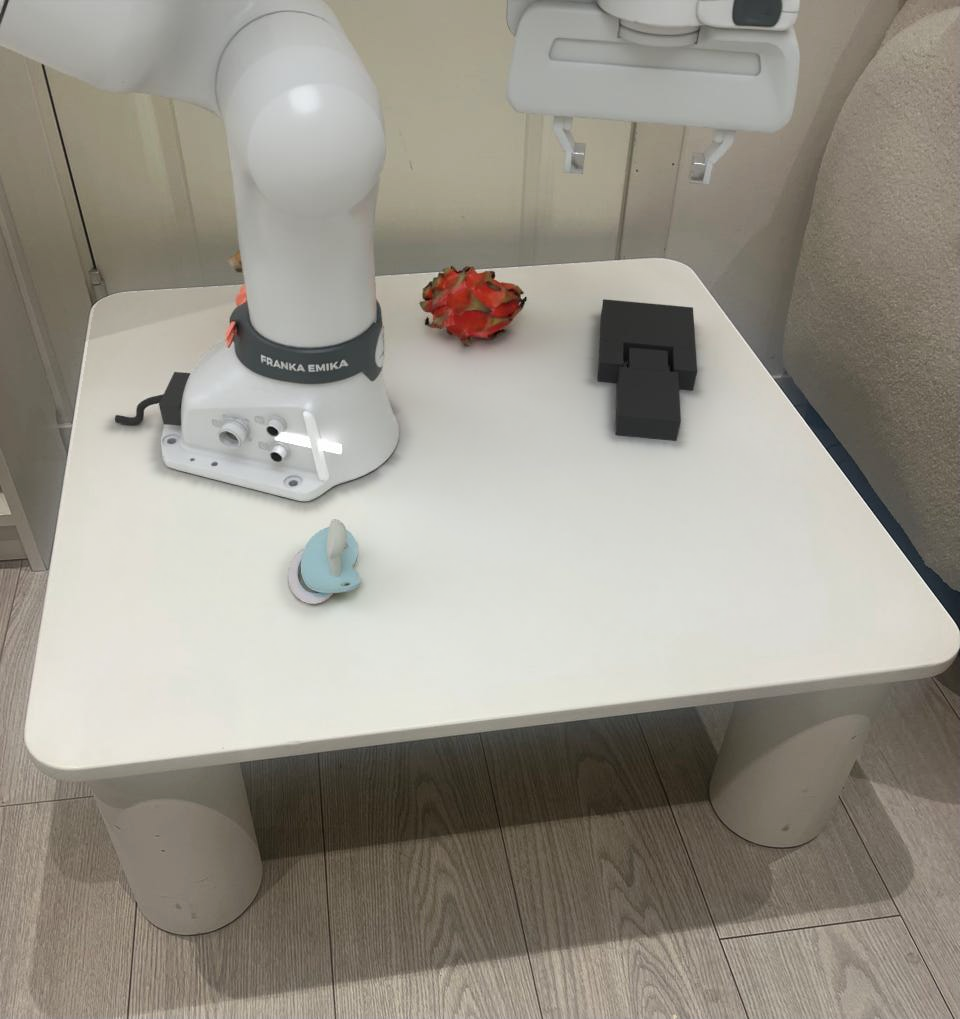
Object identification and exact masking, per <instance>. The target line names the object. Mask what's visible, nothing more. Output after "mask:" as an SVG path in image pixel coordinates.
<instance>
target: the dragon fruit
mask: <svg viewBox="0 0 960 1019" xmlns="http://www.w3.org/2000/svg"><path fill="white" fill-rule="evenodd" d="M441 271H442V272H438V274H437V276H435V277H433V278H432V280H430V281H429V282H428V283H427V285H426V286H425V287H423V288H422V293H421V294H422V295H421V298H422V299H423V300H422V301H420V300H419V302H418V304H419V307H420V308H421V310H422V311H423V312H424V313H427V314H428V313H430V314H431V315H432V321H431V322H430V317H429V316H428V315H427V316H426V317H425V319H424V325H425V326H426V327H428V328H430V329H436V330H440V331H441V330H443V329H445V330H446V332H447V334H448V335H449V336H453V335H454V336H456V337H458V338H459V340H460V341H461V342H462V343H463V342H464V343H465V344H464V346H470V345H472V342H473V341H474V339H473V338H483V339H487V340H489V339H490V340H494V339H496V338H498V337H500V336H501V335H503V334H505V333H506V331H507V329H506V328H505V327H508V325H509V324H511V322H513V321H514V319H515V317H516V316H517V315H518V314H519V313H520V312H522V310H523V308H524V307H525V304H526V302H527V300H528V298H527V296H524V298H521V297H522V295H524V294H525V292H524V291H523V290H522V288H521V287H520V286H519V285H518V284H514V283H512V282H503V281H502V282H500V281H498V280H496V279H495V278H496V272H495V271H494V270H485V271H483V272H477V271H476V269H475V267H474V266H469V265H466V266H465V267H463V268H462V269H460V270H458V269H456V267H455V266H454V265H451V266H450V267H444V268H443V269H442V270H441ZM471 337H472V338H471Z"/></svg>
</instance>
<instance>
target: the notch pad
mask: <svg viewBox="0 0 960 1019" xmlns="http://www.w3.org/2000/svg"><path fill="white" fill-rule="evenodd" d="M600 311H601V313H600V319H599V320H600V323H599V339H598V360H597V379H596V380H597V382H600V383H601V382H602V383H612V384H617V380H618V374H619V368H620V367H624V362H627V359H628V353H629V348H640V349H651V350H662V351H667V352H668V371H670V372H678V380H679V390H685V391H694V388H695V383H696V379H697V374H698V361H697V360H698V359H697V347H696V346H697V345H696V331H695V317H694V307H692V306H683V305H671V304H660V303H649V302H638V301H627V300H616V299H615V300H614V299H605V298H603V299H602V304H601V310H600Z"/></svg>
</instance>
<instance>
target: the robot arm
mask: <svg viewBox="0 0 960 1019" xmlns="http://www.w3.org/2000/svg"><path fill="white" fill-rule="evenodd" d="M800 7H801V0H506V12H505V13H506V16H505V18H506V25H507V27H508V30H509V31H510V33H511V35H512V36H513V37H514V41H513V45H512V50H511V56H510V61H509V66H508V74H507V81H506V88H505V89H506V90H505V92H506V93H505V98H506V101H507V102H508V104H509V105H510V106H511V108H512V109H513V111H514V112H515V113H519V114H528V115H539V116H541V115H542V116H553V121H552V131H553V133H554V135H555V137H556V139H557V141H558V143H559V145H560V147H561V150H562V151H563V152H564V164H563V173H565V174H577V175H578V174H579V175H583V174H584V167H585V156H586V149H587V148H586V145H587V143H585V142H576V140H575V138H574V136H573V133H572V132H571V130H572V129H573V127H572V126H573V122H574V118H577V119H588V120H589V119H590V120H603V121H605V120H606V121H612V122H613V121H615V122H624V123H625V122H627V123H639V124H652V125H664V126H674V127H675V126H676V127H688V128H699V129H700V128H701V129H712V130H713V131H712V132H713V140H712V141H711V142H710V144H709V145H708V146H707V147H706V149H705V150H704V151H703V152H694V151H693V152H692V156H691V158H690V164H691V165H690V166H689V170H688V184H694V185H706V186H708V185H709V184H710V182H711V178H712V173H713V167H714V165H716V164H717V163H718V162H719V161H720V159H722V157H723V156H724V155H725V154H726V153H727V152H728V151H729V150H730V149H731V147H732V146H733V145H734V142H735V137H736V133H737V131H738V132H747V133H748V132H749V133H762V134H777V133H778V132H780V131H781V130H782V129H783V128H784V127H786V125H788V123H790V121H791V119H792V116H793V112H794V109H795V108H794V107H795V103H796V97H797V92H798V84H799V76H800V75H799V74H800V62H801V54H800V47H799V42H798V38H797V34H796V31H795V28H794V25H795V24H796V22H797V19H798V16H799V12H800ZM0 47H3V48H5V49H8V50H10V51H11V52H15V53H16V54H18V55H21V56H23V57H26V58H27V59H30V60H33V61H35V62H36V63H38V64H39V63H40V65H41V64H42V65H44V66H46V67H48V68H51V69H53V70H55V71H57V72H59V73H62V74H64V75H66V76H69V77H71V78H74V79H75V80H79V81H81V82H83V83H85V84H88V85H90V86H92V87H94V88H97V89H98V90H100V91H103V92H106V93H109V94H113V95H114V94H115V95H127V94H131V93H133V94H135V93H137V94H145V95H151V96H156V97H160V98H164V99H165V98H166V99H169V100H173V101H178V102H182V103H186V104H190V105H193V106H196V107H199V108H202V109H204V110H206V111H208V112H210V113H211V114H213V115H214V116H216V117H217V118H219V119H220V120H221V121H222V124H223V128H224V133H225V138H226V143H227V148H228V155H229V163H230V170H231V179H232V188H233V198H234V205H235V216H236V225H237V226H236V230H237V231H236V232H237V233H236V234H237V235H236V236H237V242H238V248H239V249H240V256H241V262H242V269H243V273H242V276H243V281H244V283H243V284H242V286H240V289H239V293H238V294H237V295H236V296H235V304H236V307H235V308H234V309H233V311H232V312H231V314H230V316H229V318H228V319H229V320H228V321H229V325H228V327H227V330H226V332H225V336H224V337H225V338H224V339H225V340H223V341H221V342H219V343H217V344H215V345H213V346H212V347H211V348H209V349H208V350H206V352H205V353H203V355H202V356H201V357H200V359H198V361H197V362H196V364H195V365H194V367H193V368H192V371H191V372H181V371H180V372H179V371H173V374H172V375H171V378H170V380H169V382H168V384H167V386H166V389H165V390H164V393H163V394H158V395H153V396H150V397H147V398H145V399H143V400H142V401H140V402H139V403H138V404H137V405H136V411H135V413H136V415H135V416H134V417H132V416H131V417H130V416H124V415H121V414H120V415H119V414H116V415H115V416H114V422H115V423H116V424H122V425H128V426H135V425H139V424H141V423H142V422H143V420H144V418H145V409H146V408H148V407H150V406H152V405H153V406H154V405H157V404H158V408H159V411H160V416H161V419H162V420H161V421H162V424H163V428H162V433H161V437H160V449H161V457H162V460H163V463H164V464H165V466H166V467H167V468H170V469H172V470H176V471H180V472H183V473H187V474H192V475H196V476H199V477H204V478H207V479H212V480H215V481H218V482H223V483H227V484H232V485H235V486H239V487H241V488H246V489H250V490H254V491H259V492H262V493H266V494H270V495H275V496H278V497H283V498H286V499H290V500H294V501H296V502H297V501H298V502H310V501H313V500H315V499H317V498H319V497H320V496H322V495H324V494H325V493H326V492H328V491H329V490H330V489H332V488H333V487H336V486H338V485H340V484H343V483H347V482H349V481H354V480H356V479H359V478H361V477H363V476H366V475H368V474H370V473H371V472H373V471H375V470H376V469H378V468H379V467H381V466H382V465H384V463H385V462H387V460H388V459H389V458H390V457H391V456H392V454H393V453H394V451H395V450H396V448H397V446H398V443H399V439H400V426H399V423H398V420H397V417H396V415H395V414H394V411H393V408H392V406H391V401H390V398H389V395H388V391H387V387H386V382H385V377H384V373H383V367H384V364H385V356H386V346H385V342H386V341H385V326H384V325H383V316H382V315H383V314H382V307H381V305H380V302H379V300H378V299H377V286H376V284H377V282H376V261H375V260H376V259H375V220H376V219H375V218H376V210H377V204H378V196H379V190H380V182H381V174H382V172H383V169H384V165H385V160H386V153H387V152H386V151H387V143H386V140H387V139H386V128H385V127H386V126H385V118H384V116H385V115H384V110H383V105H382V101H381V96H380V94H379V92H378V90H377V86H376V85H375V83H374V81H373V80H372V77H371V75H370V74H369V72H368V70H367V68H366V66H365V65H364V63H363V61H362V59H361V57H360V55H359V54H358V52H357V50H356V49H355V47H354V46H353V45H352V43H351V41H350V39H349V37H348V35H347V34H346V31H345V29H344V27H343V26H342V24H341V22H340V21H339V19H338V17H337V16H336V14H335V12H334V11H333V10H332V9H331V7H330V6H329V5H328V4H327V3H326V2H325V1H324V0H0ZM239 249H238V250H239Z"/></svg>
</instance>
